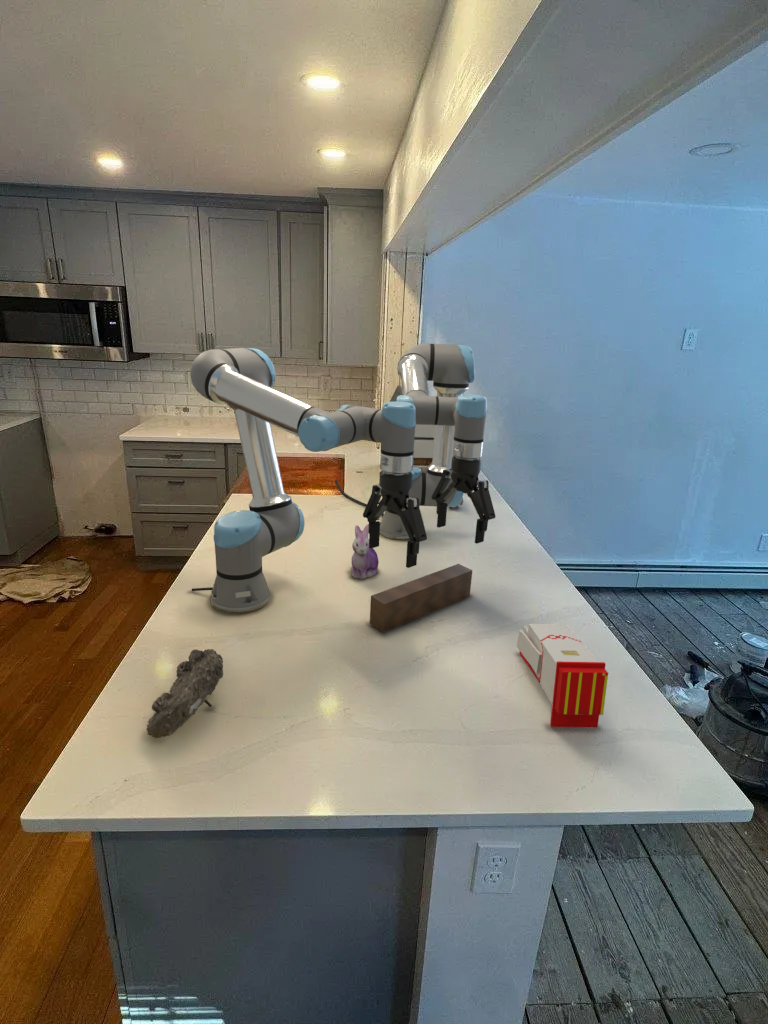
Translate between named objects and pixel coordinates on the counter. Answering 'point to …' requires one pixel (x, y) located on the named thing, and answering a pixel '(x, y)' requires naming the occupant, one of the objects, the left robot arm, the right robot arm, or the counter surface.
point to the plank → (419, 597)
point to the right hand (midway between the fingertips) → (459, 534)
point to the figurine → (363, 555)
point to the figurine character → (459, 504)
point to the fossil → (186, 692)
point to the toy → (565, 673)
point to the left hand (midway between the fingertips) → (391, 556)
